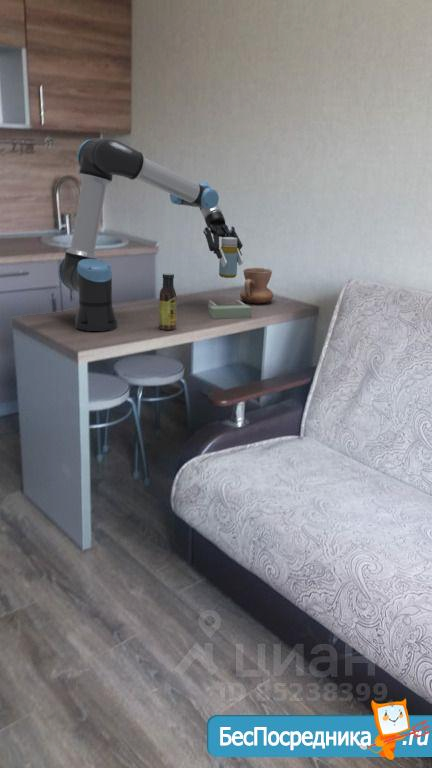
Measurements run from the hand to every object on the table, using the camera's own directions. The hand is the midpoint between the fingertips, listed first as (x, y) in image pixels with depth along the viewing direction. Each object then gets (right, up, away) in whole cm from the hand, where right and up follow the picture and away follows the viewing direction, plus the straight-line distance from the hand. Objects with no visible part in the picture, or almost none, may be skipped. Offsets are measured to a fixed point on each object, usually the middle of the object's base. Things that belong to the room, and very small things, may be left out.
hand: (233, 264), depth 235 cm
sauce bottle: (-24, -27, -15) cm, 39 cm away
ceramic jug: (+11, -11, +30) cm, 34 cm away
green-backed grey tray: (-3, -18, +8) cm, 20 cm away
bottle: (-2, -4, +5) cm, 7 cm away
